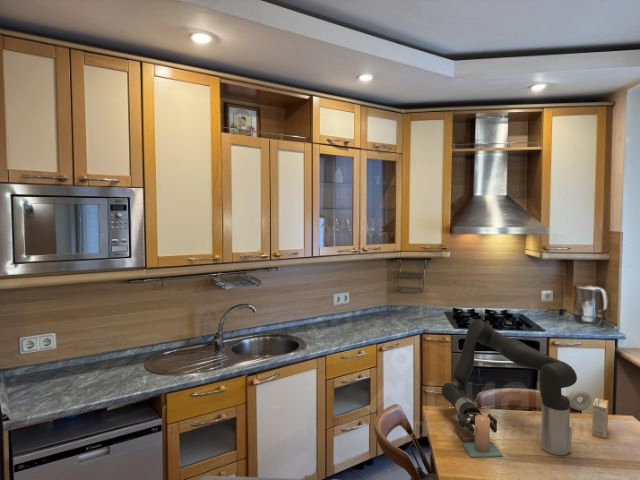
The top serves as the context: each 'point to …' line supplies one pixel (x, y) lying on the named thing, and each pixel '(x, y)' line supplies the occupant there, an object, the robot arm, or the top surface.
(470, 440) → the holder
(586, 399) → the grey round disc
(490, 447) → the mat
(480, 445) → the tall tan cylinder
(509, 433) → the top surface
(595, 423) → the supplement box
